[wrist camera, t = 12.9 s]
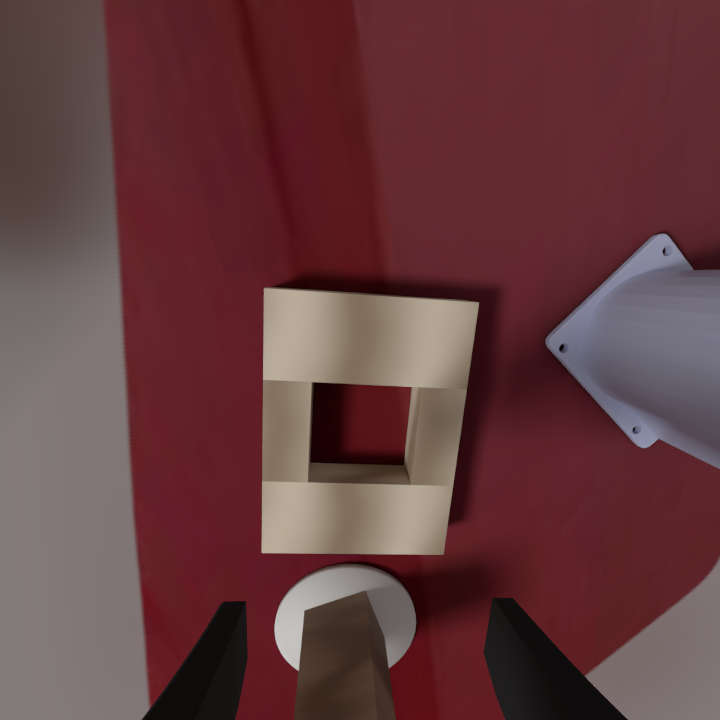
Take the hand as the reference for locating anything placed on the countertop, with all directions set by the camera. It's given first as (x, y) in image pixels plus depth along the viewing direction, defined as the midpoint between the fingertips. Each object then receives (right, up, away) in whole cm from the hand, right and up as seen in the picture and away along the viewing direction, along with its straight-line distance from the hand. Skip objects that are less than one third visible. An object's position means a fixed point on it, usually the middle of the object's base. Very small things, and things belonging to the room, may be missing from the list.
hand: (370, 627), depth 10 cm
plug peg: (-1, -9, +12) cm, 15 cm away
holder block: (0, +4, +10) cm, 11 cm away
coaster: (-1, -9, +13) cm, 16 cm away
